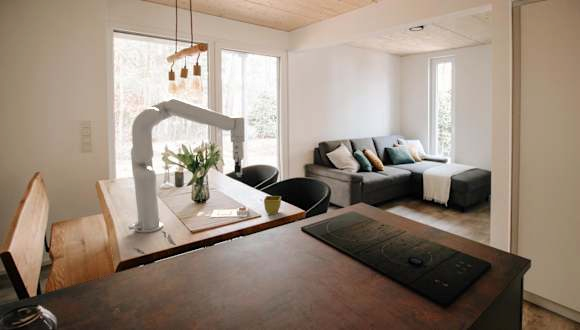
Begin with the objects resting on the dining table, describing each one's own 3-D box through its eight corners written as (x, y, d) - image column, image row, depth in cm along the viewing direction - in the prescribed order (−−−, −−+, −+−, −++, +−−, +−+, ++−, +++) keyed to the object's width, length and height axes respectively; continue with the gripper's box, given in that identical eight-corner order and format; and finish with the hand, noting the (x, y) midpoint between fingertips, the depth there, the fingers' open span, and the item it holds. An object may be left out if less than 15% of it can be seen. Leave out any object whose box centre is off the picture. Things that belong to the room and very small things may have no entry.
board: (210, 218, 171) (209, 213, 171) (214, 211, 183) (214, 206, 182) (247, 217, 172) (246, 212, 172) (248, 210, 184) (248, 205, 183)
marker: (239, 177, 174) (237, 157, 172) (234, 177, 176) (233, 157, 174) (243, 176, 177) (242, 156, 175) (239, 175, 179) (237, 156, 177)
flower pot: (281, 211, 183) (281, 196, 181) (279, 216, 174) (279, 200, 173) (266, 210, 184) (266, 195, 182) (264, 215, 175) (263, 200, 173)
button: (239, 213, 176) (239, 208, 175) (239, 211, 179) (239, 206, 179) (245, 213, 176) (245, 208, 176) (245, 211, 179) (245, 206, 179)
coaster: (196, 217, 173) (196, 216, 173) (199, 212, 180) (199, 212, 180) (209, 216, 173) (209, 215, 173) (211, 212, 180) (211, 211, 180)
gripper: (242, 140, 165) (243, 174, 168) (246, 138, 181) (246, 169, 184) (228, 140, 165) (229, 174, 168) (233, 137, 181) (233, 169, 184)
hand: (238, 171), depth 176 cm, fingers closed on marker, 3 cm apart
